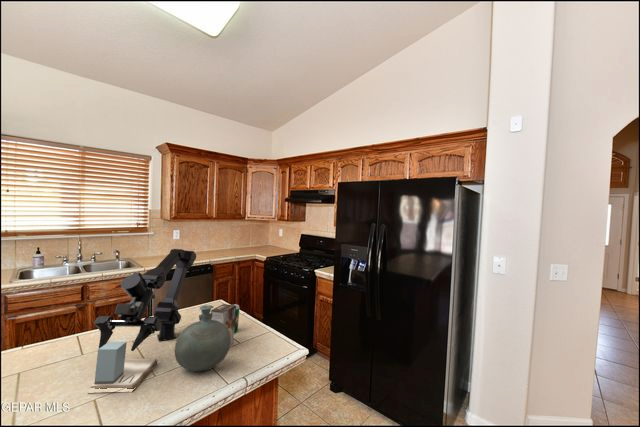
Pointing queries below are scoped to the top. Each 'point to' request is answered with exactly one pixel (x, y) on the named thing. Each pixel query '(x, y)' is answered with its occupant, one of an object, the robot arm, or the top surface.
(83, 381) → the top surface
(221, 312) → the coffee box
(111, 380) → the block
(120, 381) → the board
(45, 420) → the top surface
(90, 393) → the top surface
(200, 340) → the flask
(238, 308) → the soda can
